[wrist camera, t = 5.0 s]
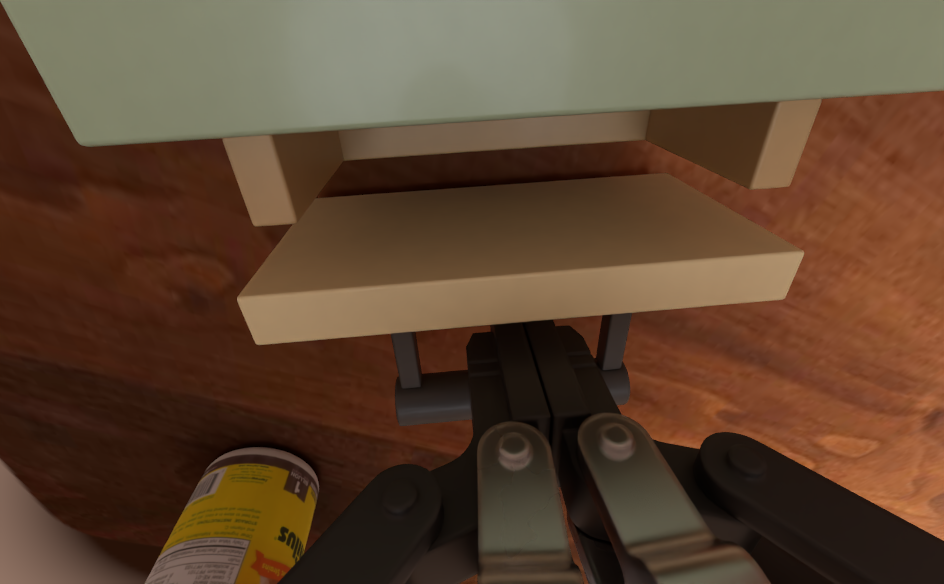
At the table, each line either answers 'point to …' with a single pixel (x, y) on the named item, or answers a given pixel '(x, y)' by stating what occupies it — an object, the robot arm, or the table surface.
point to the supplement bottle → (242, 521)
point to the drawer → (513, 236)
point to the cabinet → (454, 60)
